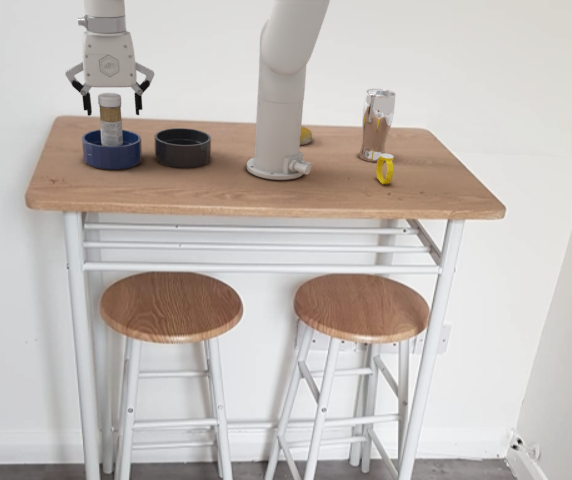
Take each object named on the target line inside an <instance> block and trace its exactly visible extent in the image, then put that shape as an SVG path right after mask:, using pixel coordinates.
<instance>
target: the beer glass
mask: <svg viewBox="0 0 572 480" xmlns="http://www.w3.org/2000/svg"><path fill="white" fill-rule="evenodd" d="M396 95H397V93H396V92H394V91H393V90H389V89H384V88H370V89H367V90H366V93H365V97H364V102H363V108H362V144H361V147H360V150H359V153H358V157H359V158H360V159H361V160H363V161H366V162H370V163H377V161H378V159H379V157H380V156H381V154H386V142H387V138H388V136H389V133H390V129H391V126H392V123H393V120H394V114H395V107H396Z"/></svg>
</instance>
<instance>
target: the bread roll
mask: <svg viewBox="0 0 572 480" xmlns="http://www.w3.org/2000/svg"><path fill="white" fill-rule="evenodd" d="M312 139H313V133H312V131H311V130H310V128H308V127H306V126H303V125H301V135H300V146H303V145H307V144H309V143H310V142H312Z"/></svg>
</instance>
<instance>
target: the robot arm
mask: <svg viewBox="0 0 572 480" xmlns="http://www.w3.org/2000/svg"><path fill="white" fill-rule="evenodd" d="M330 3H331V0H274V1H273V4H272V8H271V11H270V15H269V18H268V19H267V20H266V21H265V23H264V24H263V26H262V28H261V31H260V36H259V59H258V63H259V64H258V85H257V98H256V99H257V101H256V115H255V117H256V118H255V137H254V155H253V157H252V158H250V159H248V161H246V169H247V171H248V172H249V173H250V174H251V175H253V176H256V177H259V178H261V179H266V180H274V181H287V180H288V181H289V180H294V179H297V178H300V177H302V176H303V175H309V174H310V172H311V169H312V167H313V163H312V162H310V161H306V160H304V152H301V151H300V147H301V145H300V135H301V126H302V124H303V113H304V111H303V110H304V100H305V91H306V76H307V65H308V63H309V61H310V59H311V57H312V55H313V52H314V49H315V47H316V44H317V40H318V38H319V35H320V32H321V29H322V26H323V23H324V21H325V18H326V14H327V11H328V8H329V5H330ZM83 4H84V5H83V6H84V16H82V17H77V23H78V24H77V25H78V26H79V27H80V26H81V27H84V28H85V29H86V30H85V31H83V33H82V40H81V41H82V43H81V51H82V54H81V55H82V62H80V63H78V64H76V65H74V66H72V67H71V68H69V69H67V70H65V77H66V78H67V79H68V81H69V82H70V84H71V86H72V88H74V89H75V90H76V91H77V92H78V93H79V94H80V96H82V105H83V106H82V107H83V111H86V112H87V116H88V117H89V116H92V114H93V111H92V110H93V109H92V97H91V93H90V90H91V89H92V88H131V90H133V91H134V107H135V115H136V116H140V111H143V94H144V92H145V91H146V90H147V89H148V88H149V87H150V86H151V83H152V81H153V79H154V77H155V72H154V70H153V69H150V68H149V67H146V66H145V65H143V64H141V63H139V62H137V61H136V56H135V47H134V42H133V38H132V35H131V32H130V31H129V30H127V20H126V19H127V18H126V6H125V5H126V4H125V0H83ZM81 72H83V79H84V83H83V84H82V83H81V82H80V81H79V80H78V79H77V77H76V75H77V74H79V73H81ZM137 72H139V73H141V74H142V75H145V78H144V80H142V82H141V83H138V81H137Z"/></svg>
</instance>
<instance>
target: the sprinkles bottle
mask: <svg viewBox="0 0 572 480" xmlns="http://www.w3.org/2000/svg"><path fill="white" fill-rule="evenodd" d="M97 101H98V102H97V104H98V107H99V121H100V129H101V143H102V146H123V136H122V130H123V120H122V95H120V94H119V93H116V92H102V93H99V94H98V95H97Z"/></svg>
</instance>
